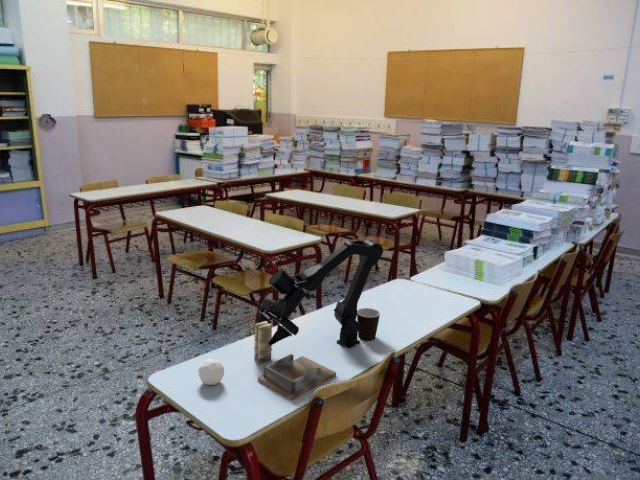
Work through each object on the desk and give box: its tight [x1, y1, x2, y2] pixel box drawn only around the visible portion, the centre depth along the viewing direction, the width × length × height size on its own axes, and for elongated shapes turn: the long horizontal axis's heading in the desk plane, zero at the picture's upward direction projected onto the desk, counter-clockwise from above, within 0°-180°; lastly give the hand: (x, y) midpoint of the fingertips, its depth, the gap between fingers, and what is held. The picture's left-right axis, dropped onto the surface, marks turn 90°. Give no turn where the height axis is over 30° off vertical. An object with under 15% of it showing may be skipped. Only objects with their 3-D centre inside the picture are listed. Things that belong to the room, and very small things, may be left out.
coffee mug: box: [356, 307, 381, 342], centre depth 193 cm, size 12×9×10 cm
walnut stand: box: [257, 353, 337, 401], centre depth 162 cm, size 20×15×5 cm
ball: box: [197, 358, 225, 386], centre depth 157 cm, size 8×8×8 cm
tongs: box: [253, 321, 273, 364], centre depth 171 cm, size 5×4×13 cm
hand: (261, 339), depth 171 cm, fingers open, 9 cm apart
